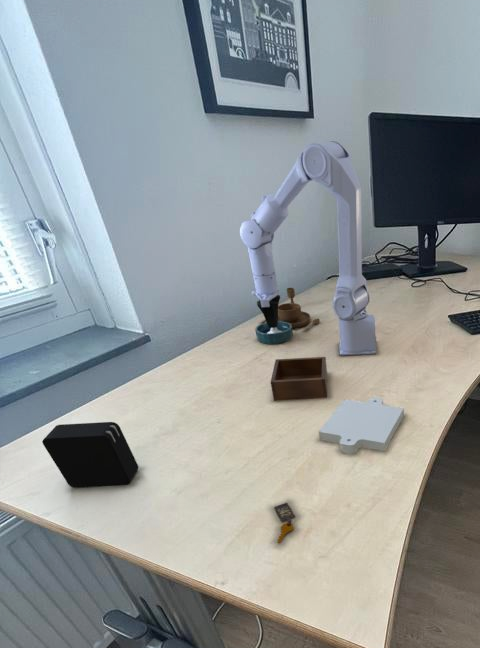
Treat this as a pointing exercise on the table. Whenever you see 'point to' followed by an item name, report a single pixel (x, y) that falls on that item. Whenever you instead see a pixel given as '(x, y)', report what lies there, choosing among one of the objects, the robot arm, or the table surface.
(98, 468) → the electronic device
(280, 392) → the box
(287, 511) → the key tag
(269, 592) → the table surface
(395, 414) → the mounting plate
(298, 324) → the place setting
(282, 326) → the bowl
